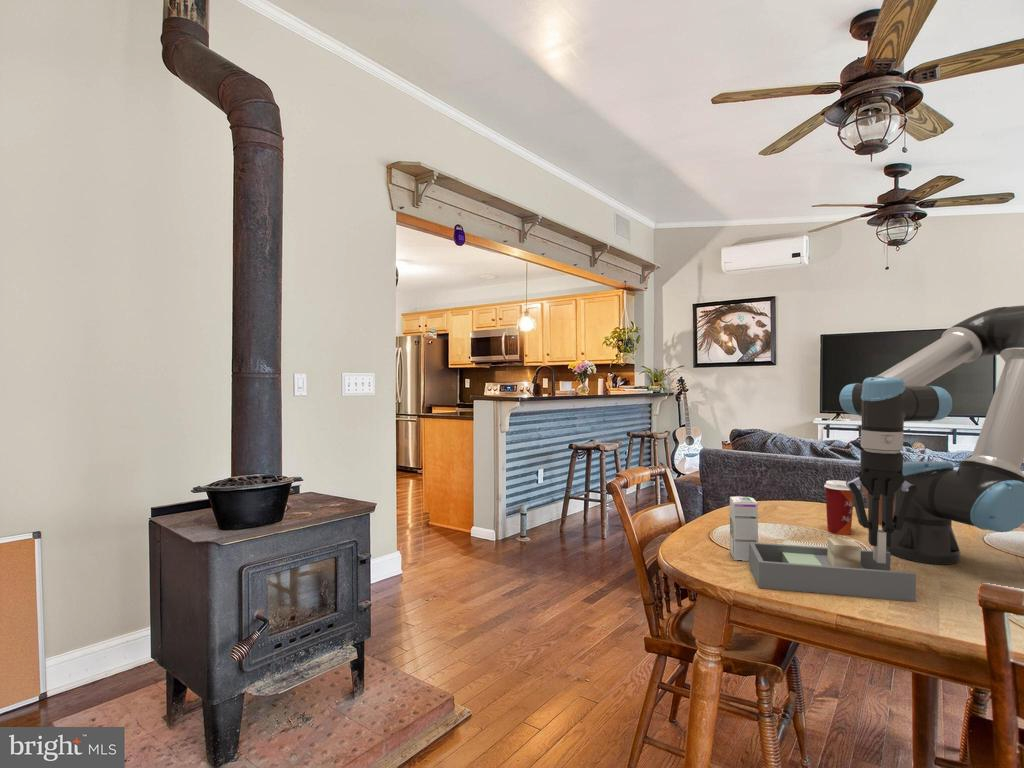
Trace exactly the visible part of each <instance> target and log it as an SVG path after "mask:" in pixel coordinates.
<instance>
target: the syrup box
mask: <svg viewBox="0 0 1024 768" xmlns="http://www.w3.org/2000/svg"><path fill="white" fill-rule="evenodd" d="M758 504H759V503H758V502H757V501H756V500H755V498H754V497H752V496H751V497H750V496H742V495H741V496H739V495H738V496H737V495H736V496H729V554H730V555H731V558H732V559H733V561H737V560H742V561H741V562H749V542H753V543H759V525H758V523H759V521H758V519H759V516H758V515H759V514H758V511H759V510H758V509H759V508H758V507H759V506H758Z"/></svg>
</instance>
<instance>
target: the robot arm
mask: <svg viewBox="0 0 1024 768" xmlns="http://www.w3.org/2000/svg"><path fill="white" fill-rule="evenodd" d="M998 355H999V356H1000V357H1001V359H1002V360H1003V361H1004V362H1005V363H1004V365H1003V369H1002V371H1001V373H1000V376H999V380H998V382H997V385H996V388H995V391H994V393H993V395H992V396H993V397H992V400H991V402H990V405H989V407H988V410H987V413H986V415H985V418H984V420H983V421H984V422H983V423H982V427H981V430H980V432H979V435H978V438H977V440H976V444H975V447H974V450H973V451H972V454H971V456H970V457H967V458H964V459H962V460H961V461H960V464H959V467H958V469H957V470H954V469H955V467H954V465H953V463H952V462H949V461H934V460H933V461H929V460H928V461H926V460H925V461H922V460H921V461H904V454H903V453H902V452H901V451H903V450H904V427H905V426H904V423H905V422H928V423H929V422H933V421H940V420H943V419H945V418H947V417H948V415H949V414H950V413H951V412H952V409H953V398H952V396H951V394H950V393H949V392H948V391H947V390H946V389H945V388H943V387H940V386H936V385H935V386H933V385H929V384H930V383H932V382H934V380H936V379H938V378H940V377H941V376H943V375H944V374H946V373H948V372H950V371H951V370H953V369H955V368H957V367H958V366H960V365H961V364H963V363H971V362H972V363H973V362H975V361H976V360H978V359H980V358H983V357H989V356H998ZM838 400H839V403H840V406H841V408H842V410H843V411H844V412H845V413H847V414H850V415H856V416H860V417H861V425H860V427H861V430H860V431H861V432H860V447H861V448H862V450H860V463H859V464H860V470H859V472H858V474H857V477H856V478H854V479H852V480H847V482H846V485H847V487H848V488H849V489H850V491H851V494H852V498H853V507H854V510H855V513H856V517H857V521H858V524H859V525H860V526H862V527H863V528H865V529H868V544H869V545H870V546H873V547H872V548H873V550H872V551H873V559H874V560H875V561H876V562H877V563H885V564H886V552H890V553H891V555H893V556H895V557H899V558H901V559H905V560H909V561H914V562H917V563H918V562H919V563H925V564H933V565H934V564H935V565H952V564H956V563H959V562H960V561H961V549H960V547H959V544H958V542H957V538H956V536H955V533H954V530H953V526H952V524H953V523H952V521H953V522H956V523H961V524H964V525H968V526H972V527H976V528H977V529H980V530H984V531H992V532H997V533H1008V532H1011V531H1013V530H1014V529H1018V528H1020V527H1021V526H1023V524H1024V472H1022V470H1021V466H1022V464H1023V462H1024V305H1012V306H999V307H994V308H991V309H987V310H985V311H982V312H979V313H977V314H974V315H972V316H970V317H968V318H965V319H964V320H962V321H960V322H958V323H956V324H954V325H953V326H951V327H949V328H947V329H946V330H945V331H944V332H943V333H942V334H941V337H940V338H939V339H936V340H935V341H934V342H932V343H931V344H928V345H927V346H925V347H924V348H921V349H920V350H918V351H917V352H915V353H913V354H912V355H910V356H909V357H907V358H905V359H904V360H902V361H900V362H898V363H896V364H895V365H893V366H892V367H889V368H888V369H887V370H885V371H883V372H881V373H880V374H877V375H876V376H873V377H872V376H871V377H870V376H869V377H866V378H865V379H864V380H863V382H862V383H860V382H855V383H850V384H847V385H845V386H844V387H842V389H841V391H840V393H839V399H838ZM899 451H900V452H899ZM861 485H862V486H861ZM863 486H864V487H865V488H866V490H867V491H868V497H869V500H868V504H867V508H868V510H866V508H865V504H864V501H863V497H862V493H861V491H860V490H861V488H862V487H863ZM880 495H881V496H882V525H881V529H880V528H879V525H880V524H879V500H880ZM893 500H894V516H893ZM866 511H868V512H866Z"/></svg>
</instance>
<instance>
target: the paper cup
mask: <svg viewBox="0 0 1024 768" xmlns="http://www.w3.org/2000/svg"><path fill="white" fill-rule="evenodd" d="M847 481H848V480H847ZM847 481H846V480H839V479H837V480H835V479H830V480H826V482H825V484H824V485H823V486H824V489H825V505H826V506H825V507H826V523H827V532H828V533H831V534H833V535H837V536H838V535H839V536H848V535H851V532H852V523H853V510H854V502H853V498H852V494H851V491H850V489H849V488H848V487H847V485H846V482H847Z"/></svg>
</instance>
